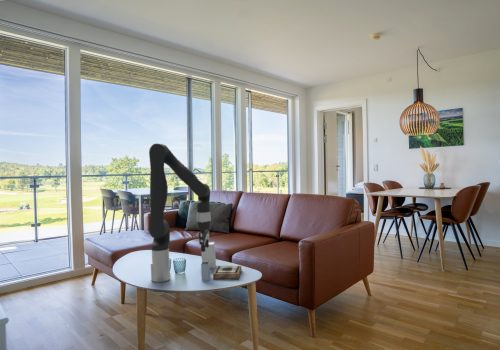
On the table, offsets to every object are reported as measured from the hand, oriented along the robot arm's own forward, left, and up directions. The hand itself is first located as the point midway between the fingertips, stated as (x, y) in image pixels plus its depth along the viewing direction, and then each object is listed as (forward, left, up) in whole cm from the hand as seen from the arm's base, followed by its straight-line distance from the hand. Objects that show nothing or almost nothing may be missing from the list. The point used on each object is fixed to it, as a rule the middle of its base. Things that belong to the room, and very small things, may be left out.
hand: (205, 249), depth 181 cm
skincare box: (-3, +21, -17) cm, 27 cm away
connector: (0, 0, -17) cm, 17 cm away
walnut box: (+11, +7, -17) cm, 21 cm away
